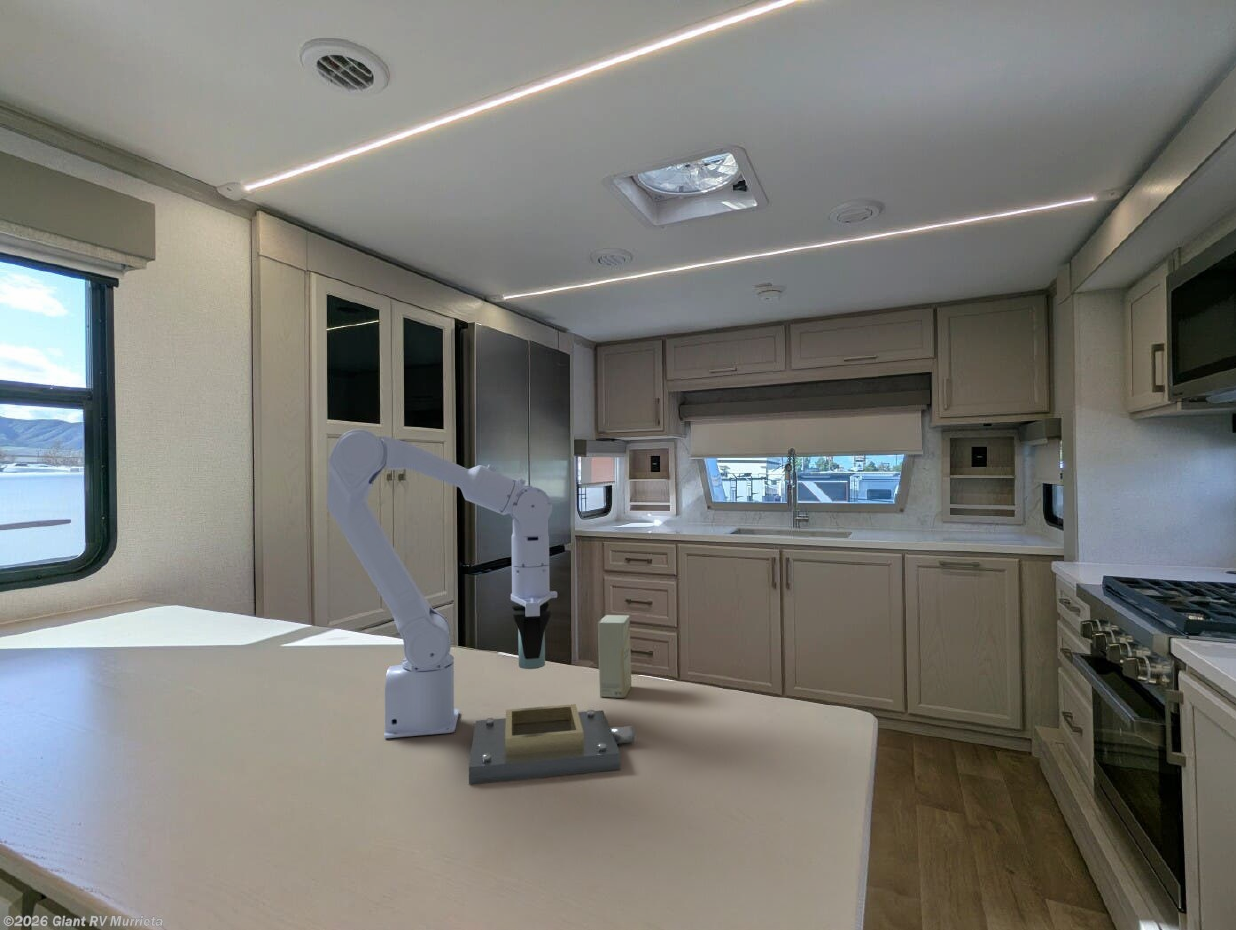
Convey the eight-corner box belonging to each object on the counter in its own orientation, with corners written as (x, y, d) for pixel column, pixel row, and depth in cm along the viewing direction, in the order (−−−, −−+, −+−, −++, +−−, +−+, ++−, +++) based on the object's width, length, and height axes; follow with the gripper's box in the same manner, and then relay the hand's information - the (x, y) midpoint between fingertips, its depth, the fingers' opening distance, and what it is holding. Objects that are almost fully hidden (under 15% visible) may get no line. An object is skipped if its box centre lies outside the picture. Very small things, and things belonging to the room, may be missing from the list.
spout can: (518, 669, 91) (518, 621, 91) (518, 662, 94) (518, 615, 95) (545, 668, 91) (545, 620, 91) (544, 660, 95) (543, 614, 95)
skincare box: (625, 698, 98) (623, 623, 98) (598, 697, 99) (597, 622, 99) (631, 685, 104) (630, 614, 104) (606, 684, 105) (605, 613, 105)
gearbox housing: (468, 784, 71) (468, 749, 71) (475, 735, 85) (475, 706, 85) (644, 767, 75) (643, 734, 75) (623, 722, 88) (623, 694, 88)
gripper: (560, 570, 87) (561, 666, 86) (553, 557, 101) (554, 639, 101) (510, 572, 86) (511, 669, 85) (510, 559, 100) (511, 642, 99)
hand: (531, 653), depth 93 cm, fingers closed on spout can, 4 cm apart
